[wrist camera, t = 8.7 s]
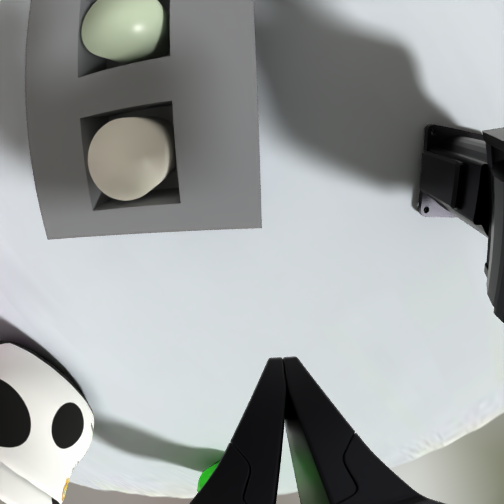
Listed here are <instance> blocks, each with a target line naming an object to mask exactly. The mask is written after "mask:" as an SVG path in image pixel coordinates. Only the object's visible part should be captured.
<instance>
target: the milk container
mask: <svg viewBox="0 0 504 504" xmlns="http://www.w3.org/2000/svg"><path fill="white" fill-rule="evenodd" d="M93 429H94V417H93V412H92V409H91V408H90V406H89V404H88V402H87V400H86V399H85V397H84V395H83V394H82V393H81V392H80V391H79V390H78V389H77V388H76V386H75V385H74V384H73V383H72V381H71V380H70V379H69V378H67V377H66V376H65V375H64V374H63V373H61V372H60V371H59V370H58V369H57V368H56V367H55V366H54V365H53V364H51V363H50V362H48V361H47V360H45V359H43V358H42V357H41V356H39V355H38V354H37V353H35V352H33V351H31V350H29V349H26V348H24V347H23V346H21V345H19V344H16V343H12V342H7V341H0V500H2V501H3V502H5V503H6V504H61V503H62V502H63V500H64V497H65V493H66V489H67V486H68V482H69V479H70V476H71V474H72V472H73V470H74V468H75V467H76V465H77V464H78V463H79V461H80V460H81V459H82V457H83V456H84V455H85V453H86V452H87V450H88V448H89V446H90V443H91V440H92V436H93Z"/></svg>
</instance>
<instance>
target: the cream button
mask: <svg viewBox="0 0 504 504" xmlns="http://www.w3.org/2000/svg"><path fill="white" fill-rule="evenodd" d="M88 167H89V172H90V175H91V177H92V179H93V181H94V183H95V184H96V186H97V187H98V188H99V189H100V190H101V191H102V192H103V193H104V194H106V195H107V196H109V197H111V198H114V199H117V200H123V201H128V200H134V199H137V198H140V197H142V196H144V195H145V194H147V193H148V192H149V191H150V190H152V189H153V188H154V187H155V186H157V185H158V184H159V183H160V182H162V181H163V180H164V179H166V178H167V177H168V176H169V175H170V174H172V172H173V171H174V170H175V169H176V167H177V161H176V150H175V137H174V126H173V125H172V124H170V123H169V122H168V121H166V120H164V119H162V118H159V117H155V116H144V117H127V118H119V119H115V120H112V121H110V122H108V123H107V124H105V125H104V126H103V127H101V128H100V129H99V130H98V132H97V133H96V134H95V136H94V138H93V139H92V142H91V144H90V147H89V151H88Z"/></svg>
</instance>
